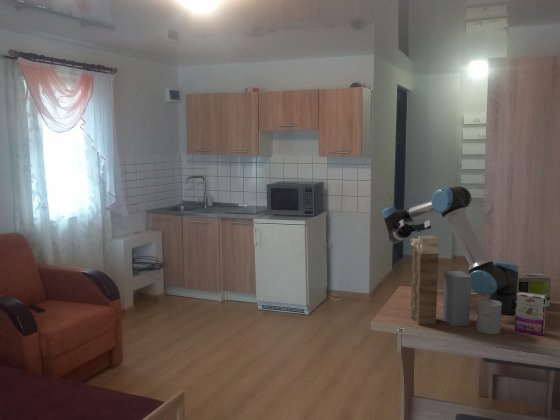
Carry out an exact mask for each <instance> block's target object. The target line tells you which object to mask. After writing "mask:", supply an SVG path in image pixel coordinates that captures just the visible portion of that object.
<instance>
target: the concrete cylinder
mask: <svg viewBox="0 0 560 420" xmlns="http://www.w3.org/2000/svg"><path fill="white" fill-rule="evenodd" d="M501 306H502V303H501V302H499V301H496V300H492V299H488V298H481V299H478V300H477V312H476V313H477V314H476V315H477V316H476V331H478V332H479V333H481V334H486V335H498V334H500V333H501V321H502V319H501V318H502V314H501Z"/></svg>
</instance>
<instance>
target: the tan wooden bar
mask: <svg viewBox="0 0 560 420" xmlns="http://www.w3.org/2000/svg"><path fill="white" fill-rule="evenodd" d="M409 239H410V243H409V244H410V245H411V246H412V247H413V248H414V249H418V252H419V253H421V254H437V253H438V252H439V250H438V247H439V245H438V244H439V237H438V236H437V237H436V236H435V235H418V236H417V237H411V238H409Z"/></svg>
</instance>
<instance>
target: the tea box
mask: <svg viewBox="0 0 560 420" xmlns="http://www.w3.org/2000/svg"><path fill="white" fill-rule="evenodd" d="M551 281H552V280H551V277H549V276H547V275H546V274H544V273H542V272H541V273H540V272H539V273H538V272H529V273H528V272H524V273H523V272H519V273H518V284H517V293H518V292H525V293H533V294H540V295H546V308H550V303H551V302H550V301H551V299H550V298H551Z"/></svg>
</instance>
